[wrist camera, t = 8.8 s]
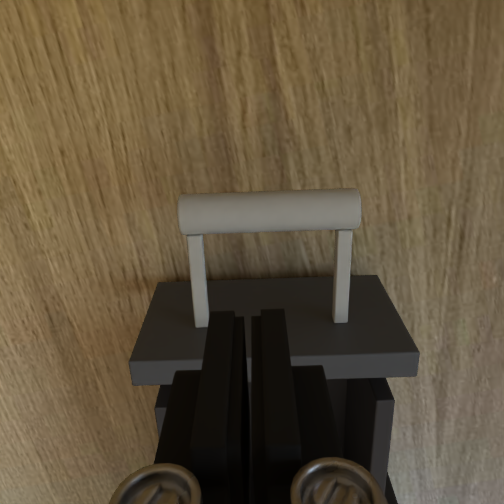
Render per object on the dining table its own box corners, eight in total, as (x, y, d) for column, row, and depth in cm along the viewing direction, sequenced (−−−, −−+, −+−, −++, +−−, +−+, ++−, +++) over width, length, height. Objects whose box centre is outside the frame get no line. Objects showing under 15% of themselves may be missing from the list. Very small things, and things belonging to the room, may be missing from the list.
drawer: (143, 170, 23) (103, 219, 16) (386, 161, 22) (439, 207, 16) (181, 471, 30) (164, 582, 24) (362, 465, 30) (391, 575, 24)
